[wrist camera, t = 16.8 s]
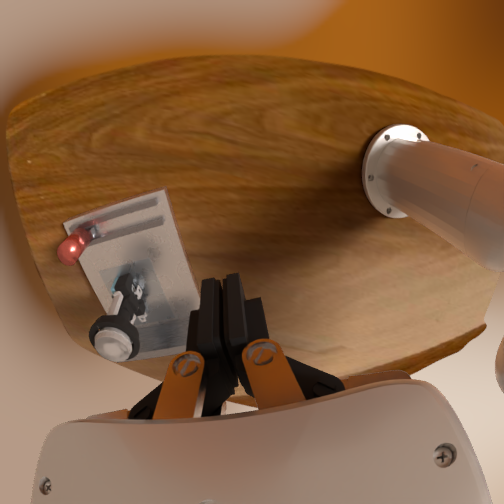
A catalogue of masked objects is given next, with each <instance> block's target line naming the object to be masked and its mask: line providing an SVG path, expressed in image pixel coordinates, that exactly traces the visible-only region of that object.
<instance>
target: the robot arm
mask: <svg viewBox="0 0 504 504" xmlns="http://www.w3.org/2000/svg"><path fill="white" fill-rule="evenodd" d="M368 176H369V177H368ZM362 182H363V187H364V191H365V194H366V196H367V198H368V200H369V202H370V203H371V204H372V206H373V207H374V208H375V209H376V210H378V211H379V212H380V213H382V214H384V215H385V216H387V217H391V218H403V217H407V216H410V217H411V218H413V219H414V220H416V221H418V222H419V223H421V224H422V225H424V226H425V227H427V228H428V229H430V230H431V231H433V232H434V233H436V234H437V235H439V236H440V237H442V238H443V239H445V240H446V241H447V242H449V243H450V244H452V245H453V246H454V247H456V248H457V249H459V250H460V251H461V252H463V253H464V254H466V255H467V256H468V257H470V258H471V259H472V260H474V261H475V262H476V263H478V264H479V265H481V266H482V267H484V268H486V269H488V270H491V271H495V272H503V271H504V165H503V164H500V163H498V162H495V161H492V160H490V159H487V158H484V157H481V156H478V155H475V154H472V153H469V152H465V151H462V150H459V149H455V148H452V147H448V146H445V145H441V144H437V143H433V142H430V141H429V139H428V138H427V136H426V135H425V134H424V133H423V132H422V131H420V130H419V129H417V128H416V127H413V126H411V125H406V124H394V125H390V126H387V127H386V128H384V129H382V130H381V131H380V132H379V133H378V134H376V135H375V137H374V138H373V139H372V141H371V142H370V144H369V146H368V148H367V150H366V153H365V156H364V159H363V166H362ZM495 374H496V379H497V382H498V384H499V386H500V388H501V390H502V391H503V393H504V337H503V339H502V341H501V344H500V346H499V349H498V352H497V355H496V361H495ZM238 378H239V380H240V383H241V385H242V386H243V387H244V389H245V392H246V393H247V394H248V395H250V396H252V397H254V398H255V400H256V403H257V406H258V409H259V410H255V411H249V412H242V413H235V414H227V415H225V412H226V400H227V399H228V398H229V397H230V396H231V395H233V394H235V390H234V387H238ZM31 504H492V500H491V497H490V493H489V490H488V487H487V484H486V480H485V477H484V474H483V472H482V469H481V466H480V464H479V461H478V459H477V456H476V454H475V452H474V449H473V447H472V445H471V442H470V440H469V438H468V436H467V434H466V432H465V430H464V428H463V426H462V424H461V422H460V420H459V418H458V416H457V415H456V413H455V411H454V410H453V408H452V407H451V405H450V404H449V402H448V401H447V400H446V398H445V397H444V395H443V394H442V393H441V392H440V391H439V390H438V389H437V388H436V387H435V386H433V385H432V384H430V383H428V382H426V381H421V380H413V379H411V377H410V376H409V375H408V374H407V373H406V372H404V371H401V370H392V371H386V372H379V373H371V374H363V375H355V376H348V379H339V378H337V377H335V376H333V375H330V374H328V373H325V372H323V371H320V370H318V369H316V368H313V367H311V366H308V365H306V364H303V363H301V362H299V361H296V360H294V359H292V358H289V357H287V356H285V355H284V353H283V351H282V348H281V347H280V345H279V344H278V343H277V342H275V341H274V340H271V339H269V334H268V330H267V325H266V320H265V315H264V310H263V306H262V301H261V297H260V298H255V299H250V300H246V299H245V295H244V291H243V287H242V283H241V279H240V275H239V273H234V274H229V275H227V278H226V279H223V289H222V286H221V283H220V280H215V278H209V279H204V280H202V286H201V296H200V307H199V309H198V310H192V311H191V312H190V317H189V325H188V334H187V343H186V352H183V353H180V354H178V355H177V356H175V357H174V358H173V359H172V360H171V362H170V364H169V366H168V369H167V373H166V376H165V379H164V381H163V382H162V383H161V384H160V385H159V386H158V387H156V388H155V389H154V390H153V391H151V392H150V393H149V394H148V395H147V396H145V397H144V398H143V399H142V400H141V401H139V402H138V403H137V404H136V405H135V406H134V407H133V408H132V409H131V410H130V411H128V410H127V409H123V410H119V411H114V412H108V413H103V414H97V415H92V416H89V417H88V418H86V419H79V420H73V421H68V422H65V423H62V424H59V425H57V426H56V427H54V428H53V429H52V430H51V431H50V432H49V433H48V435H47V437H46V439H45V441H44V444H43V446H42V450H41V453H40V456H39V460H38V464H37V468H36V473H35V478H34V484H33V490H32V498H31Z"/></svg>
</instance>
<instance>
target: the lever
mask: <svg viewBox="0 0 504 504" xmlns="http://www.w3.org/2000/svg"><path fill="white" fill-rule="evenodd" d="M96 235H97V234H96V232H95V229H94V227H91V228H88V229H84V228H76V229H75V230H74V231H73V232H72V233H71V234H70V235H69V236H68V237H67V238H66V239H65V240H64V241H63V242H62V243H61V245H60V246H59V247H58V249H57V255H58V258H59V260H60V261H61V262H62V263H63V264H65V265H68V266H71V265H74V264H75V263H76V261H77V260H78V259H79V257H80V256H81V255H82V253H83V252H84V251H85V249H86V248H87V247H88V245H89V244H90V241H91V239H93V238H94V237H95V236H96Z"/></svg>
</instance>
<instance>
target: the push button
mask: <svg viewBox="0 0 504 504" xmlns="http://www.w3.org/2000/svg"><path fill="white" fill-rule="evenodd" d="M139 289H140V292H139ZM111 291H112V293H113V295H112V298H113V300H112V303H111V305H110V308H109V310H108V313H107V315H104V316H101V317H100V318H98V319H97V320H96V322H95V323H94V324H93V325H92V327H91V329H90V331H89V339H90V341H91V343H92V345H93V346H94V348H95V349H96V350H97V352H98V353H99V354H100V355H101V356H102V357H103V358H105V359H108V360H110V361H113V362H122V361H125V360H129V359H132V358H134V357H135V356H136V355H137V354H138V353H139V350H140V341H139V333H138V330H137V328H136V327H135V326H134V325H133V324H134V320H136V317H138V318H139V320H140V321H141V322H145V321H146V319H145V317H147V314H146V312H145V309H146V307H145V305H144V301H143V299H142V298H141V295H142V290H141V288H140V286H139V285H138V286H137V289H136V287H135V286H134V284H133V277H132V275H131V273H128V274H125V275H122V276H119V277H117V278H115V280H114V282H113V284H112V287H111ZM144 314H145V315H144ZM141 318H144V319H143V320H141ZM98 329H100V331H99V330H98ZM132 341H133V343H132Z"/></svg>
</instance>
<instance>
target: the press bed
mask: <svg viewBox="0 0 504 504" xmlns="http://www.w3.org/2000/svg"><path fill="white" fill-rule="evenodd" d="M63 224H64V227H65V229H66V232H67V234H68V236H69V235H70V234H71V233H72V232H73V231H74V230H75V229H76V228H84V229H88V228H91V227H94V229H95V232H96V234H97V235H96V236H95V237H94V238H93V239H91V241H90V244H89V245H88V247H87V248H86V249H85V251H84V252H83V253H82V255H81V256H80V257H79V261H80V263H81V265H82V267H83V270H84V272H85V274H86V276H87V278H88V280H89V282H90V284H91V285H92V287H93V289H94V291H95V293H96V295H97V297H98V299H99V300H100V302H101V304H102V306H103V308H104V309H105V311H106V313H108V310H109V308H110V305H111V303H112V300H113V298H112V295H113V293H112V291H111V287H112V284H113V282H114V280H115V278H117V277H119V276H122V275H125V274H128V273H131V275H132V277H133V284H134V286H135V287H136V289H137V286H138V285H139V286H140V288H141V290H142V295H141V298H142V299H143V301H144V305H145V307H146V309H145V312H146V314H147V317H145V319H146V321H145V322H141V321H140V320H139V318H138V317H136V320H134V324H133V325H134V326H135V327H136V328H137V330H138V333H139V341H140V350H139V353H138V354H137V355H136V356H135V357H134V358H132V359H129V360H125V361H122V362H127V361H135V360H142V359H149V358H156V357H162V356H168V355H174V354H180V353H183V352H186V343H187V334H188V325H189V317H190V312H191V311H192V310H198V309H199V307H200V296H201V294H200V291H199V288H198V285H197V282H196V279H195V276H194V274H193V271H192V268H191V265H190V262H189V259H188V256H187V253H186V250H185V247H184V243H183V240H182V237H181V234H180V231H179V228H178V224H177V221H176V218H175V215H174V211H173V208H172V204H171V201H170V198H169V194H168V191H167V187H166V186H165V187H161V188H158V189H154V190H151V191H148V192H144V193H141V194H138V195H134V196H131V197H128V198H125V199H122V200H119V201H116V202H113V203H110V204H107V205H104V206H101V207H98V208H95V209H93V210H90V211H87V212H84V213H82V214H79V215H76V216H74V217H71V218H68V219H67V220H66V221H65V222H64V223H63ZM139 292H140V289H139ZM144 315H145V314H144ZM143 319H144V318H141V320H143ZM132 343H133V341H132ZM117 363H119V362H117Z"/></svg>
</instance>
